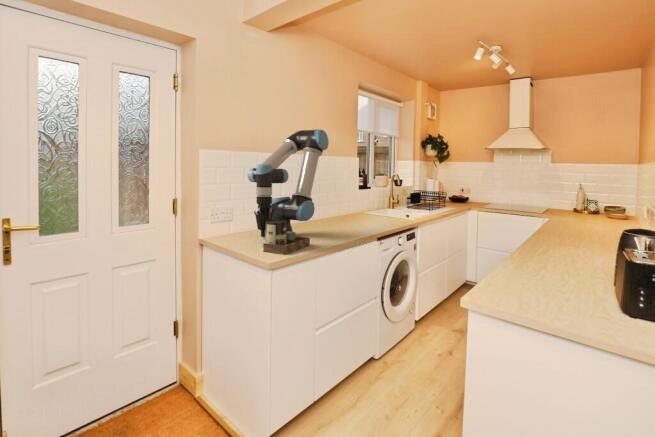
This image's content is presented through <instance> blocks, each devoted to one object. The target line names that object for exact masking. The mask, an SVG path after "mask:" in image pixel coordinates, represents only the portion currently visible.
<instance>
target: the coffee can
mask: <svg viewBox="0 0 655 437" xmlns="http://www.w3.org/2000/svg"><path fill="white" fill-rule="evenodd" d="M286 222H287V221H286V220H267V221H265V223H266V243H267V244H274V245H281V246H284V245H286Z"/></svg>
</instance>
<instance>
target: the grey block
mask: <svg viewBox="0 0 655 437" xmlns="http://www.w3.org/2000/svg"><path fill="white" fill-rule="evenodd" d="M295 236H296V231H293V232H291V231H288V232H286V239H287V240H295Z"/></svg>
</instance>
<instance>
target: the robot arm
mask: <svg viewBox="0 0 655 437" xmlns="http://www.w3.org/2000/svg"><path fill="white" fill-rule="evenodd" d="M329 142H330V141H329V137H328V134H327V132H326V131H325V130H324V129H317V128H315V129H303V130H301V129H300V130H298V131H296V132H294V133H293V134H290V135H289V136H288V137H286V139H285V140H283V142H282V145H280V146H279V147H278V148H277V149H276V150H275V151H274V152H272V154H271V155H269V156H268V157H267V158H266V159H265V160H264V161H262V162H261V163H260V164H259V163H258V164H257V165H256V167H252V168H249V169H248V171H247V173H246V174H247V180H248V181H249V182H251V183H256V204H257V209H256V210H254V212H253V213H254V216H255V220H256V226H257V229H258V230H259V231H260V237H261V242H260V243H261V244H263V243H266V223H265V221H267V220H286V221H287V222H286V232H288V231H291V232H294V231H293V226H292V224H291V221H298V222H308V221H309V220H311V218H313V216H314V214H315V210H316V208H315V203H314V202H313V198H312V197H311V196H312V191H313V185H314V182H315V176H316V172H317V168H318V163H319V158H320V157H321V156H322V155H323V151H326V150H327V149H328V147H329ZM299 151H302V152H303V159H302V162H301V168H300V171H299V176H298V181H297V184H296V189H295V193H293V194H292V195H291V196H281V197H272V195H273V184H285V183H287V181H288V180H289V173H288V171H287V170H286V169H285V168H279V167H280V166H281V165H282V164H283V163H284V162H286V161H287V159H288V158H289V157H291V155H295V154H296V153H297V152H299Z"/></svg>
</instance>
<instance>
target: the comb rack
mask: <svg viewBox="0 0 655 437" xmlns="http://www.w3.org/2000/svg"><path fill="white" fill-rule="evenodd" d="M310 242H311V237H304V236H303V237H302V236H296V235H295V240H287V239H286V245H284V246H281V245H274V244H267V243H262V246H263V247H262V248H263V250H262V251H263V252H264V253H271V254H277V255H283V256H284V255H286V254H289V253H293V252H295V251H299V250H301V249H304V248H307V247H309V246H311V243H310Z"/></svg>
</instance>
